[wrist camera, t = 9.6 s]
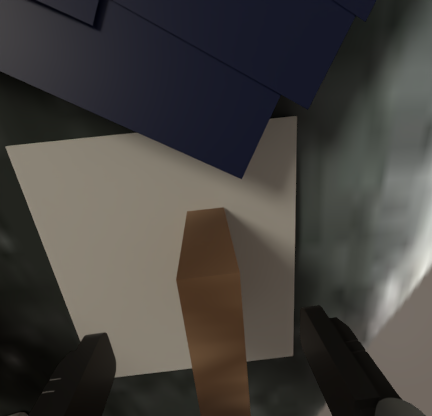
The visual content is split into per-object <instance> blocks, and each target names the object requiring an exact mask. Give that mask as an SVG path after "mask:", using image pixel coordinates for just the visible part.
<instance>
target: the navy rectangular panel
mask: <svg viewBox="0 0 432 416" xmlns="http://www.w3.org/2000/svg"><path fill="white" fill-rule="evenodd" d="M375 2H376V0H0V71H1V72H3V73H5V74H8V75H10V76H12V77H14V78H16V79H19V80H21V81H23V82H25V83H28V84H30V85H32V86H34V87H37V88H39V89H41V90H43V91H45V92H48V93H50V94H52V95H54V96H57V97H59V98H61V99H63V100H66V101H68V102H70V103H72V104H74V105H77V106H79V107H81V108H83V109H86V110H88V111H90V112H92V113H95V114H97V115H99V116H101V117H104V118H106V119H108V120H110V121H112V122H115V123H117V124H119V125H121V126H124V127H126V128H128V129H130V130H133V131H135V132H137V133H139V134H141V135H144V136H146V137H148V138H150V139H153V140H155V141H157V142H159V143H162V144H164V145H166V146H168V147H170V148H173V149H175V150H177V151H179V152H182V153H184V154H186V155H188V156H191V157H193V158H195V159H197V160H199V161H202V162H204V163H206V164H208V165H211V166H213V167H215V168H217V169H220V170H222V171H224V172H226V173H229V174H231V175H233V176H235V177H237V178H240V179H242V178H243V176H244V173H245V171H246V169H247V167H248V165H249V163H250V160H251V158H252V156H253V154H254V152H255V150H256V147H257V145H258V143H259V141H260V139H261V137H262V135H263V132H264V130H265V128H266V126H267V124H268V122H269V119H270V117H271V115H272V113H273V111H274V109H275V106H276V104H277V102H278V100H279V98H280V96H281V95H283V96H284V97H286V98H288V99H290V100H292V101H293V102H295V103H297V104H299V105H300V106H302V107H304V108H306V109H309V107H310V105H311V103H312V101H313V99H314V97H315V95H316V93H317V91H318V89H319V87H320V85H321V83H322V81H323V79H324V77H325V75H326V73H327V71H328V69H329V67H330V65H331V64H332V62H333V60H334V58H335V56H336V54H337V52H338V50H339V48H340V46H341V44H342V42H343V40H344V38H345V36H346V34H347V32H348V30H349V28H350V26H351V24H352V22H353V20H354V18H355V16H357V17H359V18H360V19H362V20H363V21H365V22H366V20H367V18H368V16H369V14H370V12H371V10H372V8H373V6H374V4H375Z"/></svg>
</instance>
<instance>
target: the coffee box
mask: <svg viewBox="0 0 432 416" xmlns="http://www.w3.org/2000/svg"><path fill="white" fill-rule="evenodd" d="M9 416H28V415H27V414H26V413H25V412H18V413H15V414H12V415H9Z"/></svg>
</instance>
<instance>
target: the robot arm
mask: <svg viewBox="0 0 432 416" xmlns="http://www.w3.org/2000/svg"><path fill="white" fill-rule="evenodd" d="M300 340H301V345H302V348H303V351H304V354H305V356H306V358H307V360H308V363H309V365H310V367H311V369H312V371H313V374H314V376H315V378H316V380H317V383H318V385H319V387H320V389H321V391H322V394H323V396H324V398H325V400H326V403H327V405H328V407H329V409H330V412H331V414H332V416H426V415H424V414H423V413H422V412H421V411H420V410H419V409H418V408H416V407H415V406H413V405H412V404H410V403H408V402H406V401H403V400H402V399H401V398H400V397H399V395H398V394H397V393H396V391H395V390H394V389H393V387H392V386H391V385H390V383H389V382H388V381H387V379H386V378H385V376H384V375H383V374H382V372H381V371H380V369H379V368H378V367H377V365H376V364H375V362H374V361H373V360H372V358H371V357H370V356H369V354H368V353H367V352H366V351H365V349H364V347H363V346H362V344H361V343H360V342H358V339H357V338H356V336H355V335H354V333H353V332H352V331H351V329H350V328H349V327H348V326H347V325H346V324H344V323H343V322H342V321H340V320H339V319H338V318H337V317H335V318H329V317H328V316H327V314H326V313H325V311H324V310H323V308H322V307H321V306H319V305H318V306H310V307H303V308H301V310H300ZM115 373H116V359H115V355H114V352H113V349H112V346H111V343H110V340H109V337H108V335H107V333H105V332H104V333H96V334H88V335H85V336H84V337H83V339H82V340H81V342H80V344H79V346H78V348H77V350H76V351H70V352H69V353H68V354H67V356H66V357H65V358H64V359H63V360H62V361H61V362H60V363H59V364H58V365H57V367H56V369H55V370H54V372H53V374H52V376H51V377H50V381H49V382H47V384H46V386H45V388H44V389H43V391H42V395H40V396H39V398H38V400H37V401H36V403H35V405H34V406H33V408H32V410H31V412H30V413H29V415H28V416H102V414H103V410H104V407H105V404H106V401H107V398H108V395H109V392H110V389H111V386H112V383H113V380H114V377H115Z"/></svg>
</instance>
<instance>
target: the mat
mask: <svg viewBox="0 0 432 416" xmlns="http://www.w3.org/2000/svg"><path fill="white" fill-rule="evenodd" d="M6 149H7V152H8V155H9V157H10V160H11V162H12V165H13V168H14V170H15V173H16V175H17V178H18V181H19V183H20V186H21V188H22V191H23V194H24V196H25V199H26V201H27V204H28V207H29V209H30V212H31V214H32V217H33V220H34V222H35V225H36V227H37V230H38V232H39V235H40V238H41V240H42V243H43V245H44V248H45V251H46V253H47V256H48V258H49V261H50V264H51V266H52V269H53V271H54V274H55V277H56V279H57V282H58V284H59V287H60V290H61V292H62V295H63V297H64V300H65V303H66V305H67V308H68V310H69V313H70V316H71V318H72V321H73V323H74V326H75V328H76V331H77V334H78V336H79V339H80V341H81V340H82V339H83V337H84V336H85V335H88V334H96V333H104V332H105V333H107V335H108V337H109V340H110V343H111V346H112V349H113V352H114V355H115V359H116V373H115V377H123V376H131V375H139V374H147V373H156V372H164V371H172V370H181V369H189V368H192V364H191V358H190V353H189V348H188V342H187V337H186V331H185V326H184V320H183V315H182V309H181V304H180V299H179V293H178V288H177V282H176V277H177V271H178V265H179V258H180V252H181V246H182V240H183V233H184V227H185V221H186V215H187V211H195V210H204V209H213V208H222V207H224V210H225V214H226V218H227V222H228V226H229V230H230V235H231V239H232V243H233V247H234V251H235V255H236V259H237V263H238V267H239V271H240V281H241V295H242V308H243V321H244V335H245V348H246V361H255V360H263V359H271V358H280V357H288V356H293V334H294V273H295V211H296V150H297V116H290V117H281V118H271V119H269V122H268V124H267V126H266V128H265V130H264V132H263V135H262V137H261V139H260V141H259V143H258V145H257V147H256V150H255V152H254V154H253V156H252V158H251V160H250V163H249V165H248V167H247V169H246V171H245V173H244V176H243V178H242V179H240V178H237V177H235V176H233V175H231V174H229V173H226V172H224V171H222V170H220V169H217V168H215V167H213V166H211V165H208V164H206V163H204V162H202V161H199V160H197V159H195V158H193V157H191V156H188V155H186V154H184V153H182V152H179V151H177V150H175V149H173V148H170V147H168V146H166V145H164V144H162V143H159V142H157V141H155V140H153V139H150V138H148V137H146V136H144V135H141V134H139V133H127V134H118V135H108V136H98V137H89V138H79V139H70V140H60V141H50V142H41V143H31V144H22V145H13V146H6Z"/></svg>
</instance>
